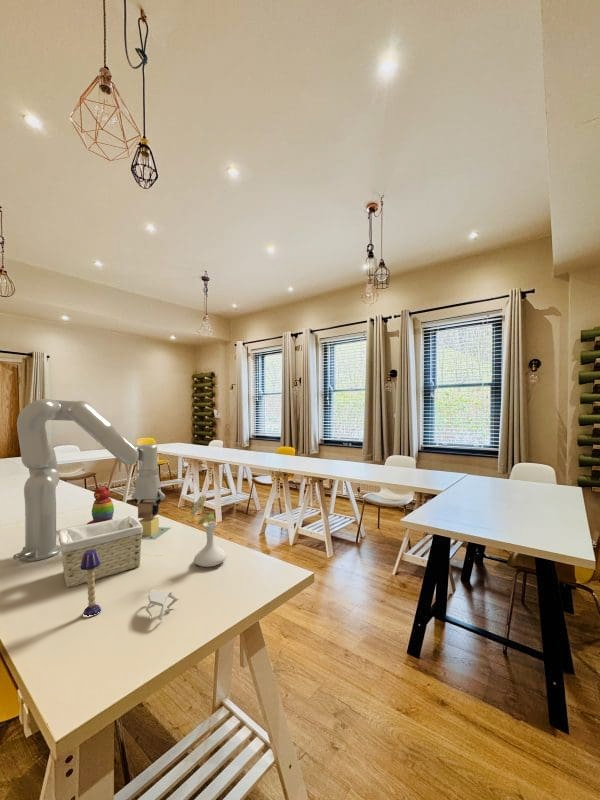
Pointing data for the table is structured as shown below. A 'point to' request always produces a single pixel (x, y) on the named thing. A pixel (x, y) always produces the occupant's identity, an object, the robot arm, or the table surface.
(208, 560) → the flower in vase
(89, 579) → the toy lamp
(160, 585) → the table surface
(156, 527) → the mustard cube
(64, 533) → the storage basket
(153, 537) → the baseplate
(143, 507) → the walnut cube
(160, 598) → the white legged frame
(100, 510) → the stacking bear
